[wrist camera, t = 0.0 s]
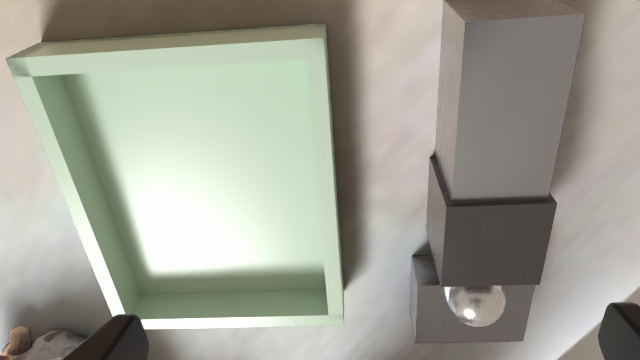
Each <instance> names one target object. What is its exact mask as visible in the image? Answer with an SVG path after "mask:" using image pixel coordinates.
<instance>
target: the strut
mask: <svg viewBox="0 0 640 360" xmlns="http://www.w3.org/2000/svg"><path fill="white" fill-rule="evenodd" d="M584 19H585V13H582V12H580V11H578V10H576V9H574V8H572V7H570V6H568V5H566V4H564V3H561V2H559V1H557V0H443V16H442V34H441V53H440V71H439V90H438V108H437V126H436V145H435V157H430V163H429V184H428V205H427V225H426V231H427V235H428V239H429V243H430V247H431V251H432V255H433V259H434V263H435V267H436V271H437V275H438V279H439V283H440V287H464V286H504V285H540V281H541V276H542V271H543V267H544V262H545V257H546V253H547V248H548V243H549V238H550V234H551V229H552V224H553V220H554V215H555V210H556V206H557V202H556V201H555V200H554V198H553V197H552V195H551V194H550V188H551V183H552V178H553V173H554V168H555V163H556V158H557V153H558V148H559V143H560V138H561V133H562V128H563V123H564V118H565V113H566V108H567V103H568V98H569V93H570V88H571V84H572V79H573V74H574V69H575V64H576V59H577V54H578V49H579V44H580V39H581V34H582V29H583V24H584Z"/></svg>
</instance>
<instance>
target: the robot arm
mask: <svg viewBox="0 0 640 360" xmlns="http://www.w3.org/2000/svg"><path fill="white" fill-rule="evenodd" d="M598 340H599V345H600V348H601V351H602V354H603V357H604V359H605V360H640V306H639V305H637V304H635V303H632V302H616V303H610V304H609V305H608V306H607V308H606V311H605V314H604V317H603V320H602V323H601V327H600V330H599V334H598ZM148 355H149V341H148V338H147V335H146V333H145V330H144V327H143V325H142V322H141V319H140V317H139V316H138V315H137V314H118V315H115V316H114V317H112V318H111V319H110V320H109V321H107V322H106V323H105V324H104V325H103V326H102V327H100V328H99V329H98V330H97V331H96V332H94V333H93V334H92V335H91V336H90V337H88V338H87V339H86V340H85V341H84V342H82V343H81V344H80V345H79V346H78V347H76V348H75V349H74V350H73V351H72V352H70V353H69V354H68V355H67V356H66V357H64V358H63V359H62V360H147V359H148Z"/></svg>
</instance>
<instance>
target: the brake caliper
mask: <svg viewBox="0 0 640 360" xmlns="http://www.w3.org/2000/svg"><path fill="white" fill-rule="evenodd" d="M30 334H31V333H30V329H29V328H28V327H23V326H19V327H16V328H14V329H12V330H11V331H10V344H8V345H7V346H5V347H4V348H3V350H2V356H0V360H62V359H63V358H64V357H66V356H67V355H68V354H69V353H70V352H72V351H73V350H74V349H75V348H76V347H78V346H79V345H80V344H81V343H82V342H84V341H85V340H86V339H87V338H84V337H80V336H77V335H75V334H73V333H71V332H69V331H66V330H58V329H56V330H52V331H50V332H48V333H47V334H45V335H42V336H41V337H38V338H37V339H36V340H35V342H34V344H33V346H32V342H31V335H30ZM27 349H29V350H28V351H27Z"/></svg>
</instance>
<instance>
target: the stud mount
mask: <svg viewBox="0 0 640 360" xmlns="http://www.w3.org/2000/svg"><path fill="white" fill-rule="evenodd" d="M534 286H535V285H504V286H464V287H440V283H439V279H438V275H437V271H436V267H435V263H434V259H433V256H412V267H411V301H410V314H411V320H412V326H413V332H414V338H415V343H455V342H511V341H523V339H524V334H525V329H526V324H527V320H528V315H529V310H530V305H531V300H532V295H533V291H534Z"/></svg>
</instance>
